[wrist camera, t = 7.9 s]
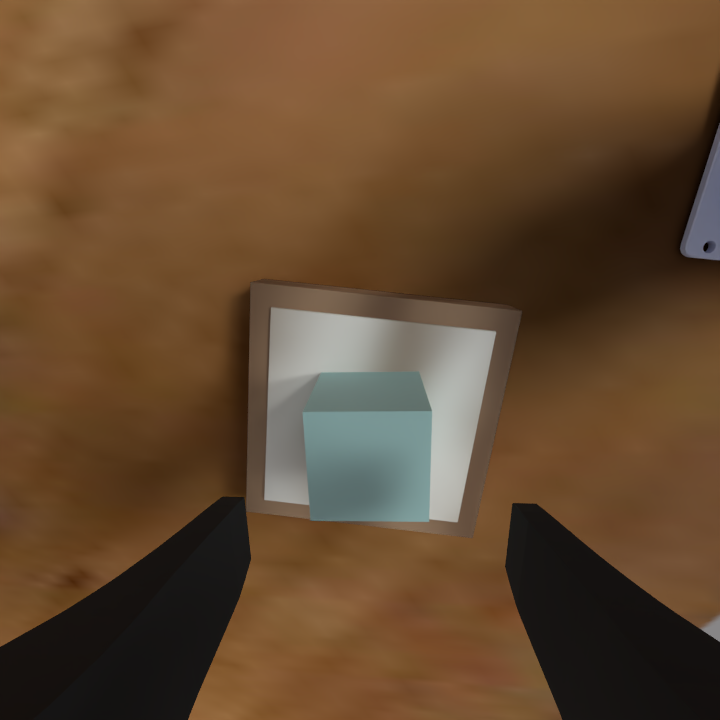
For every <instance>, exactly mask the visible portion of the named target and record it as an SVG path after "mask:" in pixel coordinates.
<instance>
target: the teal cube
mask: <svg viewBox="0 0 720 720" xmlns="http://www.w3.org/2000/svg"><path fill="white" fill-rule="evenodd" d="M303 425H304V439H305V453H306V466H307V480H308V494H309V507H310V521H389V522H429V509H430V472H431V435H432V409H431V406H430V403H429V400H428V397H427V394H426V391H425V388H424V385H423V382H422V379H421V376H420V373H419V371H417V372H324V373H321V374H320V376H319V378H318V380H317V382H316V385H315V387H314V389H313V391H312V393H311V395H310V397H309V399H308V401H307V404H306V406H305V408H304V410H303Z"/></svg>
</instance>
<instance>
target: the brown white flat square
mask: <svg viewBox="0 0 720 720" xmlns="http://www.w3.org/2000/svg"><path fill="white" fill-rule="evenodd" d="M521 315H522V311H521V310H519V309H516V308H514V307H512V306H509V305H505V304H496V303H486V302H477V301H467V300H458V299H449V298H439V297H430V296H420V295H411V294H401V293H392V292H383V291H373V290H364V289H354V288H345V287H335V286H326V285H316V284H307V283H298V282H288V281H279V280H269V279H261V280H257V281H253V282H251V286H250V338H249V389H248V441H247V492H246V512H255V513H263V514H272V515H280V516H289V517H297V518H306V519H310V507H309V494H308V480H307V466H306V453H305V439H304V425H303V410H304V408H305V406H306V404H307V401H308V399H309V397H310V395H311V393H312V391H313V389H314V387H315V385H316V382H317V380H318V378H319V376H320V374H321V373H324V372H417V371H419V373H420V376H421V379H422V382H423V385H424V388H425V391H426V394H427V397H428V400H429V403H430V406H431V409H432V435H431V472H430V509H429V522H389V521H332V522H340V523H349V524H357V525H366V526H374V527H383V528H391V529H400V530H408V531H417V532H425V533H434V534H442V535H451V536H459V537H468V538H473V534H474V529H475V525H476V520H477V516H478V511H479V507H480V502H481V497H482V493H483V488H484V484H485V479H486V475H487V470H488V466H489V461H490V456H491V452H492V447H493V443H494V438H495V434H496V429H497V425H498V420H499V415H500V411H501V406H502V402H503V397H504V393H505V388H506V384H507V379H508V374H509V370H510V365H511V361H512V356H513V352H514V347H515V342H516V338H517V333H518V329H519V324H520V320H521Z"/></svg>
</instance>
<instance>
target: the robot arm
mask: <svg viewBox="0 0 720 720" xmlns="http://www.w3.org/2000/svg"><path fill="white" fill-rule="evenodd" d="M706 242H707V243H708V249H707V250H706V251H705V252H704V250H703V246H704V244H705V243H706ZM680 250H681V253H682V254H683V255H684V256H686V257H690V258H700V259H709V260H719V261H720V123H719V127H718V130H717V133H716V136H715V139H714V142H713V145H712V148H711V152H710V155H709V158H708V161H707V164H706V167H705V170H704V173H703V177H702V180H701V183H700V186H699V189H698V192H697V195H696V198H695V202H694V205H693V208H692V211H691V214H690V217H689V220H688V223H687V227H686V230H685V233H684V236H683V239H682V242H681V246H680ZM250 561H251V554H250V545H249V535H248V526H247V517H246V508H245V499H244V497H222V498H220V499H219V500H218V501H216V502H215V503H214V504H212V505H211V506H210V507H208V508H207V509H206V510H205V511H203V512H202V513H201V514H200V515H198V516H197V517H196V518H195V519H193V520H192V521H191V522H190V523H188V524H187V525H186V526H185V527H183V528H182V529H181V530H180V531H178V532H177V533H176V534H175V535H173V536H172V537H171V538H169V539H168V540H167V541H166V542H164V543H163V544H162V545H160V546H159V547H158V548H157V549H155V550H154V551H152V552H151V553H150V554H148V555H147V556H145V557H144V558H143V559H141V560H140V561H139V562H137V563H136V564H134V565H133V566H132V567H130V568H129V569H128V570H126V571H125V572H123V573H122V574H121V575H119V576H118V577H116V578H115V579H113V580H112V581H111V582H109V583H108V584H106V585H105V586H103V587H101V588H100V589H98V590H97V591H95V592H94V593H92V594H91V595H89V596H87V597H86V598H84V599H83V600H81V601H80V602H78V603H76V604H75V605H73V606H72V607H70V608H68V609H67V610H65V611H63V612H62V613H60V614H58V615H57V616H55V617H53V618H51V619H49V620H48V621H46V622H44V623H42V624H41V625H39V626H37V627H35V628H33V629H32V630H30V631H28V632H26V633H24V634H23V635H21V636H19V637H17V638H16V639H14V640H12V641H10V642H8V643H7V644H5V645H3V646H1V647H0V720H188V718H189V715H190V713H191V710H192V708H193V705H194V703H195V700H196V698H197V695H198V693H199V690H200V688H201V686H202V683H203V681H204V679H205V677H206V674H207V672H208V670H209V667H210V665H211V663H212V660H213V658H214V656H215V653H216V651H217V649H218V647H219V644H220V642H221V640H222V637H223V635H224V633H225V630H226V628H227V626H228V623H229V621H230V619H231V616H232V614H233V612H234V609H235V607H236V604H237V602H238V600H239V597H240V594H241V591H242V588H243V584H244V581H245V578H246V574H247V571H248V568H249V564H250ZM505 567H506V571H507V575H508V578H509V582H510V586H511V589H512V593H513V596H514V600H515V603H516V606H517V609H518V612H519V614H520V617H521V619H522V622H523V624H524V627H525V629H526V632H527V634H528V637H529V639H530V641H531V644H532V646H533V649H534V651H535V654H536V656H537V658H538V661H539V663H540V666H541V668H542V671H543V673H544V675H545V678H546V680H547V683H548V685H549V688H550V690H551V692H552V695H553V697H554V700H555V702H556V705H557V707H558V709H559V712H560V714H561V717H562V720H720V642H719V641H717V640H716V639H714V638H713V637H711V636H710V635H708V634H707V633H705V632H704V631H702V630H701V629H699V628H698V627H696V626H695V625H693V624H692V623H690V622H689V621H687V620H686V619H684V618H683V617H681V616H680V615H678V614H677V613H675V612H674V611H672V610H671V609H669V608H668V607H666V606H665V605H664V604H662V603H661V602H659V601H658V600H657V599H655V598H654V597H652V596H651V595H650V594H648V593H647V592H646V591H644V590H643V589H642V588H640V587H639V586H638V585H636V584H635V583H634V582H632V581H631V580H630V579H628V578H627V577H626V576H624V575H623V574H622V573H620V572H619V571H618V570H617V569H615V568H614V567H613V566H611V565H610V564H609V563H608V562H606V561H605V560H604V559H603V558H601V557H600V556H599V555H598V554H596V553H595V552H594V551H593V550H592V549H590V548H589V547H588V546H587V545H585V544H584V543H583V542H582V541H581V540H579V539H578V538H577V537H576V536H575V535H573V534H572V533H571V532H570V531H569V530H567V529H566V528H565V527H564V526H563V525H562V524H560V523H559V522H558V521H557V520H556V519H554V518H553V517H552V516H551V515H550V514H548V513H547V512H546V511H545V510H544V509H542V508H541V507H540V506H538V505H537V504H523V503H513V504H512V513H511V521H510V530H509V538H508V547H507V556H506V564H505Z"/></svg>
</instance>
